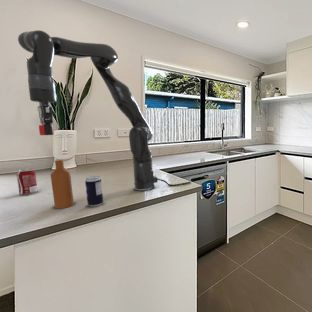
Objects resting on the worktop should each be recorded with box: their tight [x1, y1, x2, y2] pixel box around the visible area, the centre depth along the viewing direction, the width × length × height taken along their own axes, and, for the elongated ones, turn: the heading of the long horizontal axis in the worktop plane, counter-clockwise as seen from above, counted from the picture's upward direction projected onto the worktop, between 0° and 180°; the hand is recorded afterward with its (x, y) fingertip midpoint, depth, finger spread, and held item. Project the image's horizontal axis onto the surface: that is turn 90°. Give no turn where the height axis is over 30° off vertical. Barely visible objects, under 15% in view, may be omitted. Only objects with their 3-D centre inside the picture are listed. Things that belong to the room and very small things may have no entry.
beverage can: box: [84, 175, 104, 207], centre depth 94 cm, size 6×6×12 cm
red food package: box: [16, 168, 39, 196], centre depth 109 cm, size 7×7×12 cm
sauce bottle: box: [50, 159, 75, 209], centre depth 92 cm, size 6×6×20 cm
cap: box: [38, 124, 54, 136], centre depth 85 cm, size 4×4×4 cm
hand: (47, 134), depth 85 cm, fingers closed on cap, 4 cm apart
